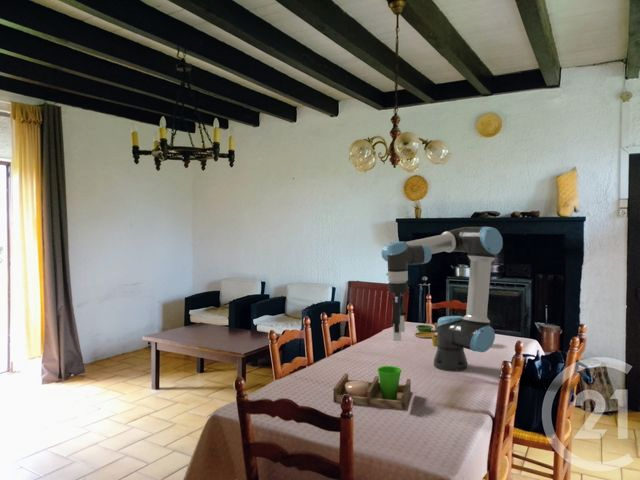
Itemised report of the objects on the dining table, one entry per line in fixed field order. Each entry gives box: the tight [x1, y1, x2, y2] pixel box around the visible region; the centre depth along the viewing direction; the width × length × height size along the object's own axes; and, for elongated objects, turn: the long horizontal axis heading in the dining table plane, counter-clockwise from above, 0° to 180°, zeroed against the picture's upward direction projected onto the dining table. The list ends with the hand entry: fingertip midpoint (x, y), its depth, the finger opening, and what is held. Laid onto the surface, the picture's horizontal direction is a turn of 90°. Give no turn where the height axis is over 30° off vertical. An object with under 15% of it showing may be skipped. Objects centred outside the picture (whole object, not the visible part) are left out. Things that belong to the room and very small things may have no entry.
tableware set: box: [414, 322, 438, 347], centre depth 271 cm, size 41×28×6 cm
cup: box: [376, 365, 402, 400], centre depth 174 cm, size 9×9×11 cm
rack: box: [332, 373, 411, 411], centre depth 177 cm, size 26×18×6 cm
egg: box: [345, 380, 369, 397], centre depth 178 cm, size 9×9×4 cm
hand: (399, 336), depth 182 cm, fingers open, 13 cm apart
